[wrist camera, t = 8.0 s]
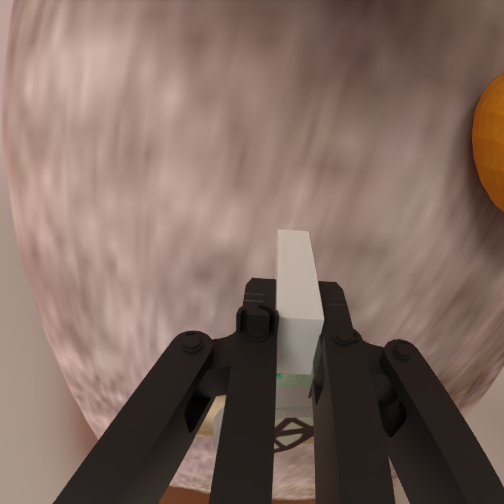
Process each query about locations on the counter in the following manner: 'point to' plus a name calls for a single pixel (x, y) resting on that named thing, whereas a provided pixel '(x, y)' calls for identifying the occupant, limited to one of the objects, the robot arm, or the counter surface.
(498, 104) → the fruit
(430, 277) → the counter surface
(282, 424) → the food container
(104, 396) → the counter surface
